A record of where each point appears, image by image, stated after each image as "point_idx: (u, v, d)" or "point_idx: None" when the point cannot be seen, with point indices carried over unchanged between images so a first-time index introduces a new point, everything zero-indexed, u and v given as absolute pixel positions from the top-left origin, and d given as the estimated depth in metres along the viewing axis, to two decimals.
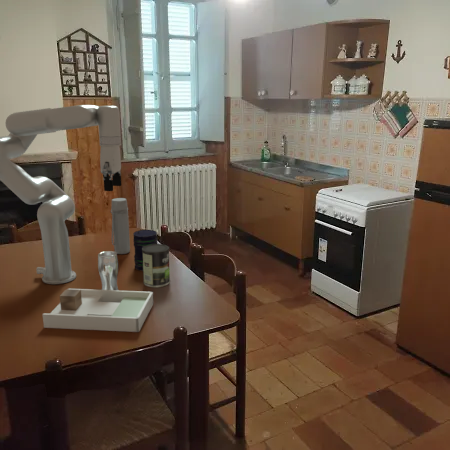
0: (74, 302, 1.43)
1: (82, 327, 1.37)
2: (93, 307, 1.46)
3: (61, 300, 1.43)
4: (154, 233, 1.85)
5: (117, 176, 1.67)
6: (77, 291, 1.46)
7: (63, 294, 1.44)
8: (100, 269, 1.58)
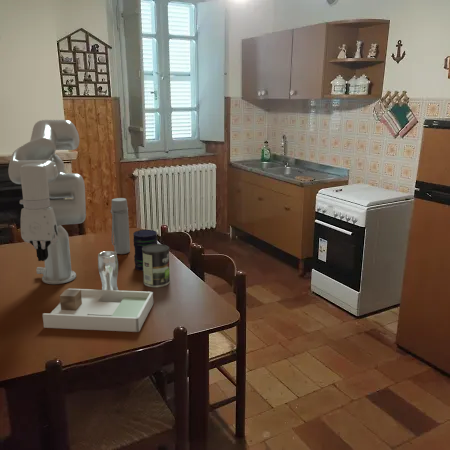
0: (74, 302, 1.43)
1: (82, 327, 1.37)
2: (93, 307, 1.46)
3: (61, 300, 1.43)
4: (154, 233, 1.85)
5: None
6: (77, 291, 1.46)
7: (63, 294, 1.44)
8: (100, 269, 1.58)
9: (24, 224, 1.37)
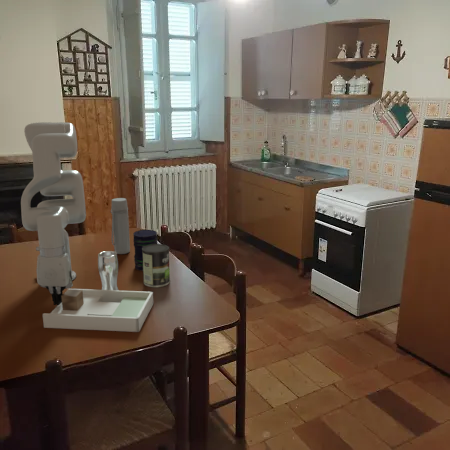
0: (75, 302, 1.43)
1: (82, 327, 1.37)
2: (93, 307, 1.46)
3: (63, 300, 1.43)
4: (154, 233, 1.85)
5: None
6: (79, 291, 1.46)
7: (65, 294, 1.44)
8: (100, 269, 1.58)
9: (40, 270, 1.41)
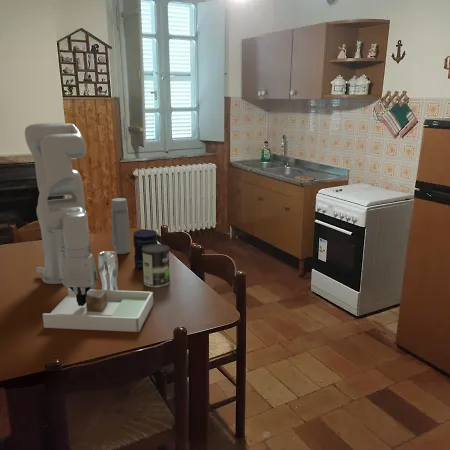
0: (99, 303, 1.42)
1: (82, 327, 1.37)
2: None
3: (87, 301, 1.42)
4: (154, 233, 1.85)
5: None
6: (103, 292, 1.45)
7: (89, 295, 1.43)
8: (100, 269, 1.58)
9: (65, 271, 1.40)
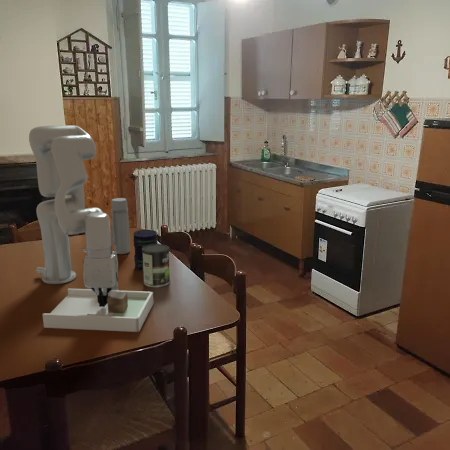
0: (121, 304, 1.42)
1: (82, 327, 1.37)
2: (93, 307, 1.46)
3: (108, 302, 1.42)
4: (154, 233, 1.85)
5: None
6: (124, 293, 1.45)
7: (110, 296, 1.42)
8: None
9: (87, 272, 1.40)
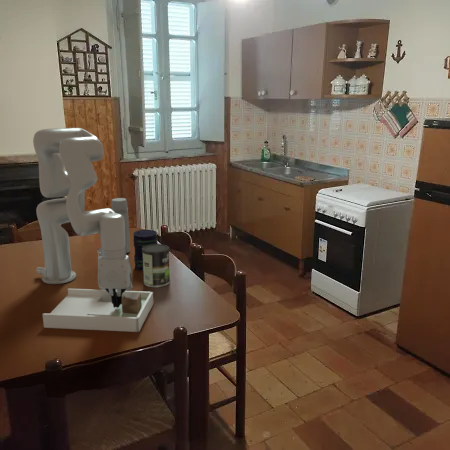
0: (135, 305, 1.41)
1: (82, 327, 1.37)
2: (93, 307, 1.46)
3: (123, 303, 1.42)
4: (154, 233, 1.85)
5: (116, 294, 1.44)
6: (138, 294, 1.44)
7: (124, 297, 1.42)
8: None
9: (101, 273, 1.39)
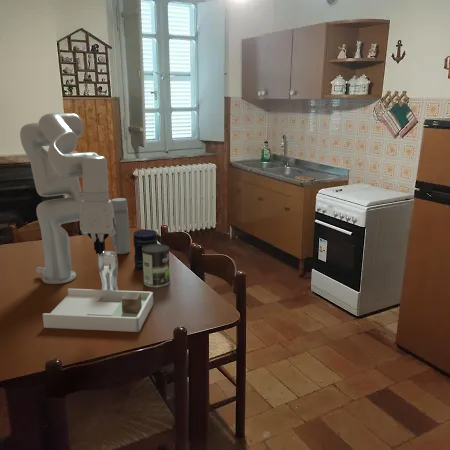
0: (135, 305, 1.41)
1: (82, 327, 1.37)
2: (93, 307, 1.46)
3: (123, 303, 1.42)
4: (154, 233, 1.85)
5: None
6: (138, 294, 1.44)
7: (124, 297, 1.42)
8: (100, 269, 1.58)
9: (83, 217, 1.36)
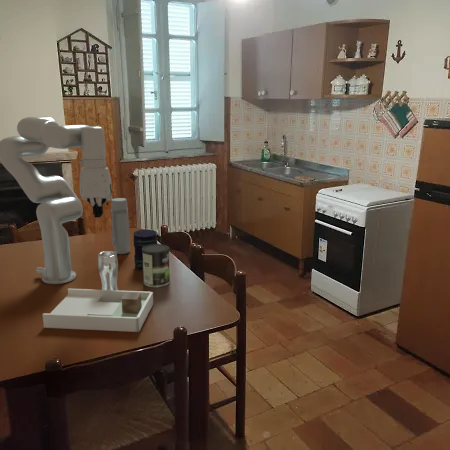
0: (135, 305, 1.41)
1: (82, 327, 1.37)
2: (93, 307, 1.46)
3: (123, 303, 1.42)
4: (154, 233, 1.85)
5: (97, 206, 1.54)
6: (138, 294, 1.44)
7: (124, 297, 1.42)
8: (100, 269, 1.58)
9: (83, 182, 1.49)
